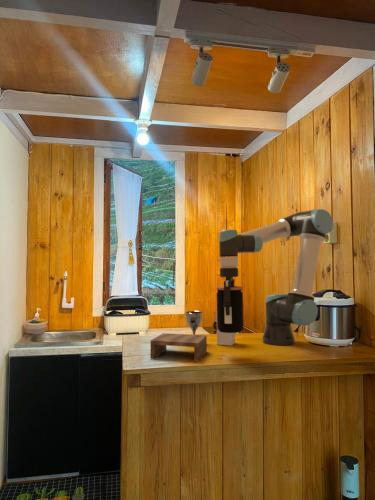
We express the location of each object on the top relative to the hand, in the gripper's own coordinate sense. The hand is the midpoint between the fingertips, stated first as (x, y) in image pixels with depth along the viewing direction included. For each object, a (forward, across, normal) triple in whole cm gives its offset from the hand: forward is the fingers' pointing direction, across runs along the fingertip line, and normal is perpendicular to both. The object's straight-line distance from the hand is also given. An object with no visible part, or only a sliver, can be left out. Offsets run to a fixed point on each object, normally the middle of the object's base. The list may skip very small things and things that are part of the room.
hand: (230, 321), depth 153 cm
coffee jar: (+4, 0, 0) cm, 4 cm away
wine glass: (+15, -20, -21) cm, 33 cm away
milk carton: (+15, -24, -6) cm, 28 cm away
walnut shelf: (+14, +2, -22) cm, 26 cm away
